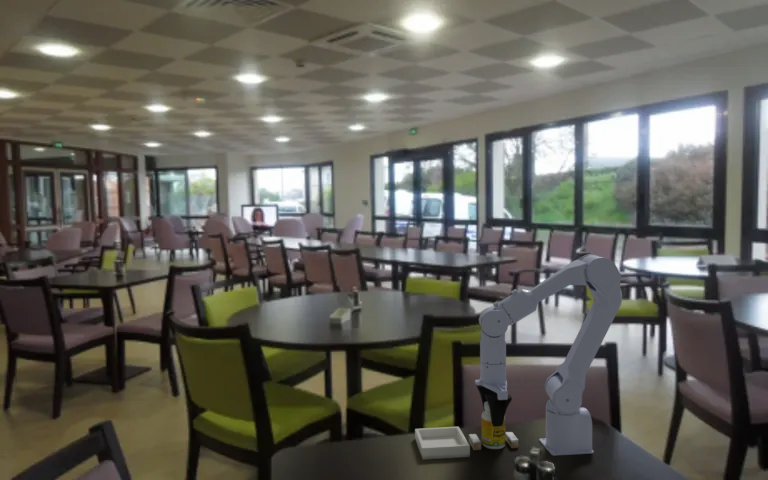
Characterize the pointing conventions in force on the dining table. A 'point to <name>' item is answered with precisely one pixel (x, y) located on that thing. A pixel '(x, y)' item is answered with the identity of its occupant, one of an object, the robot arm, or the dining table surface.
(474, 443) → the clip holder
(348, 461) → the dining table surface
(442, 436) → the tray
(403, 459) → the dining table surface
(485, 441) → the supplement bottle
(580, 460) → the dining table surface
